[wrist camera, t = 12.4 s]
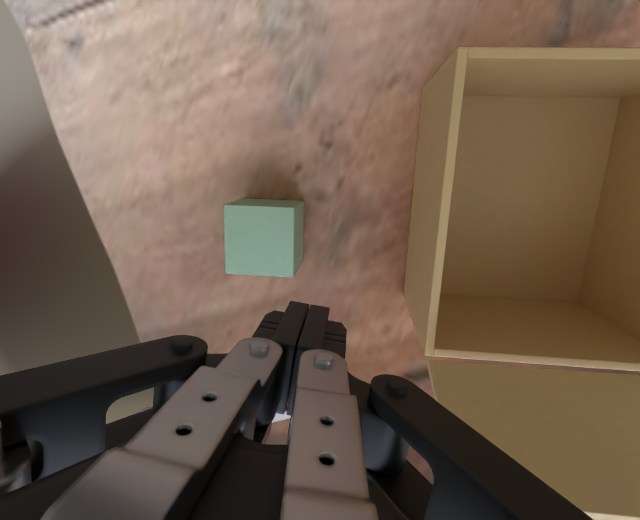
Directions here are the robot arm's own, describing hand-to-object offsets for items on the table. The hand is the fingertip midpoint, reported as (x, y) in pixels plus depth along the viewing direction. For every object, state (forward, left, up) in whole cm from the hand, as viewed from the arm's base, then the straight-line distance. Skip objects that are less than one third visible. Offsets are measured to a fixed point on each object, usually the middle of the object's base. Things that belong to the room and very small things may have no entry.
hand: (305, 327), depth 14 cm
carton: (-4, +13, -18) cm, 22 cm away
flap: (+5, +13, -3) cm, 14 cm away
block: (-1, -5, -18) cm, 18 cm away
